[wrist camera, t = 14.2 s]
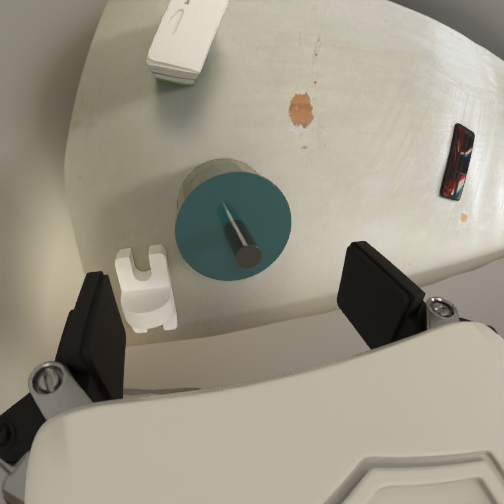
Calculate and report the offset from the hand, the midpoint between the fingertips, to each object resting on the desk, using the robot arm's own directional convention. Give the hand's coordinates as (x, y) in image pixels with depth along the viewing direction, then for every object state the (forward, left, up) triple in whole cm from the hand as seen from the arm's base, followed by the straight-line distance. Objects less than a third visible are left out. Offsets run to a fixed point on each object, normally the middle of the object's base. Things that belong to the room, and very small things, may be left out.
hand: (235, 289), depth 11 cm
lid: (+6, -5, -20) cm, 21 cm away
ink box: (-5, +13, -28) cm, 31 cm away
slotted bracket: (-1, -19, -28) cm, 34 cm away
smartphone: (+46, +18, -28) cm, 56 cm away
